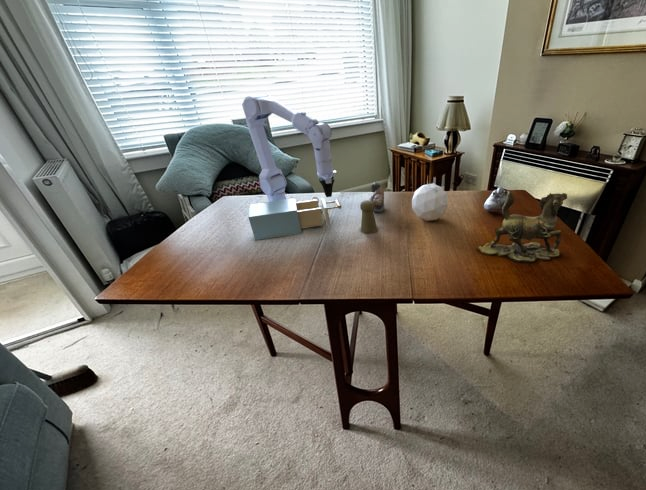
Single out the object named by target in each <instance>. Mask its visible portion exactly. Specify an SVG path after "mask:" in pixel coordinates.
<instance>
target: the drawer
mask: <svg viewBox="0 0 646 490" xmlns="http://www.w3.org/2000/svg"><path fill="white" fill-rule="evenodd" d="M318 199H319V198H318ZM318 199H317V200H312V199H310V200H304V201H303V200H302V201H296V208H297V213H298V218H299V223H300V228H301V229H306V228H312V227H320V226H324V222H325V224H326V227H330V226H331V221H330V215H329V210H334V209H339V210H341V209H342V205H341V203H340V200H339V199H337V198H336V199H334V200H329V201H326V200H325V197H320V203H321V206H322V209H321V208H319V207H320V204H319V203H318ZM327 204H335V205H336V206H335V205H334V206H328V205H327ZM321 210H323V212H322V213H321ZM323 218H324V221H323Z"/></svg>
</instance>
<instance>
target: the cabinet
mask: <svg viewBox="0 0 646 490" xmlns="http://www.w3.org/2000/svg"><path fill="white" fill-rule="evenodd" d="M296 202H297V201H296V198H288V199H286V200H280V201H273V202H269V201H266V202H259V203H251V204H250V205H249V211H248V215H247V217H248V220H249V224H250V227H251V230H252V234H253V237H254V240H255V241H259V240H265V239H271V238H279V237H285V236H291V235H297V234H302V228H300V223H299V218H298V213H297V208H296Z"/></svg>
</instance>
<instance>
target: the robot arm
mask: <svg viewBox="0 0 646 490" xmlns="http://www.w3.org/2000/svg"><path fill="white" fill-rule="evenodd" d="M241 107H242V110H243V113H244V116H245V123H246V126H247V129H248V132H249V135H250V138H251V141H252V143H253V147H254V149H255V152H256V156H257V159H258V161H259V165H260V167H261V172H260V173H259V175H258V179H259V186H260V189H261V191H262V192H263V193H264V194H265V195H266V197H267V200H268V201H267V202H273V201H280V200H287V196H286V192H285V191H286V187H287V184H288V182H287V178H286V177H285V176H284V174H283V170H282V169H280V168H278V167H277V165H276V162H275V159H274V155H273V153H272V149H271V145H270V143H269V140H268V136H267V133H266V130H265V127H264V123H265V122H266V120H267V119H268V118H269V117H270V116H271V115H272V114H273V115H275V116H277V117H279V118H281V119H283V120H286V121H288V122H289V123H291V125H292V127H293V128H294V129H295V130H297V131H299V132H301V133H302V134H304V135H306V136H307V137H308V138H309V141H311V144H312V147H313V151H314V157H315V158H314V159H315V166H316V172H317V173H316V174H317V175H316V176H317V177H318V181H319V183H320V184H321V186H322V189H323V193H324V195H325V197H326V198H331V197H332V196H333V187H334V184H335V177H334V175H336V174H337V170H334V166H333V158H332V150H331V142H330V139H331V137H332V135H333V134H332V133H333V132H332V128H331V126H330V125H329V124H328V123H327V122H326V121H320V122H319V120H318V119H316V118H312V117H311V116H309V115H307V112H305V111H297V112H296V111H294V110H292V109H290V108H289V107H287V106H285V105H284V104H283V103H281V102H280V101H278V100H277V99H276V98H275V97H274V96H272V95H270V94H267V93H264V94H260V95H252V96H250V95H249V96H245V97H244V99H243V101H242V104H241Z"/></svg>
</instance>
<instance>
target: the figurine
mask: <svg viewBox="0 0 646 490" xmlns="http://www.w3.org/2000/svg"><path fill="white" fill-rule="evenodd" d="M508 192H509V193H508V194H507V197H506V201H505V203H504V205H503V208H502V210H501V212H502V213H501V214H502V216H503V217H504V219H503V220H502V226H501V227H500V228H499V227H496V228H495V229H494V233H495V237H494V239H493V240H491V241H490V242H487V243H484V244H483V245H482V246H481V245H479V246H478V247H477V251H479V252H480V253H481V254H484V255H487V256H499V257H503V258H509V259H511V260H513V261H514V262H517V263H527V264H531V263H532V264H533V263H534V262H536V260H542V261H551V258H552V259H555V258H559V257H560V256H561V251H560V250H559V249H558V247H559V245H560V243H561V242H562V231H561V230H560V229H556V228H557V226H558V225H557V224H558V217H557V214H558V211H559V209H560V208H561V206H562V205H563V204H564V201H566V200H567V199H568V194H567V193H565V192H563V193H549V194H547V195H546V196H544V197H541V199H539V200H540V201H539V207H540V210H541V211H542V213H541V214H540V215H539V216H538V215H535V216H528V215H527V216H526V215H522V214H511V215H510V214H509V209H510V208H511V207H512V205H514V203H515V196H514V195H513V193H512V191H510V190H509V191H508ZM504 235H508V241H511V242H513V243H512V244H510V245H507V244H500V243H499V244H498V242H499V241H500V240H501V239H500V238H501V236H504ZM553 237H556V240H555V243H553V244H552V247H551V243H550V242H549V239H551V238H553ZM535 239H540V240H543V242H544V245H545V247H542V244H541V243H540V242H537V241H532V242H529V243H524V244H523V243H522V241H521V240H527V241H531V240H535Z"/></svg>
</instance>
